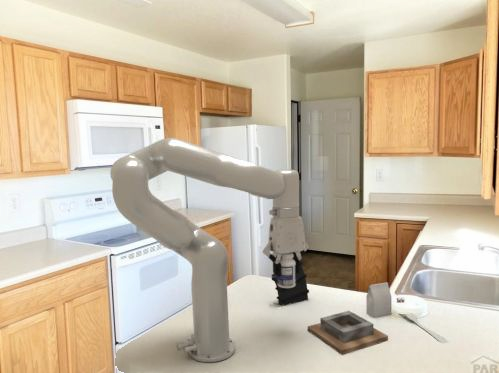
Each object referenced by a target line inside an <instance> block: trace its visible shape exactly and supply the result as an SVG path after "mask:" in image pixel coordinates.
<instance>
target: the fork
mask: <svg viewBox="0 0 499 373" xmlns="http://www.w3.org/2000/svg"><path fill="white" fill-rule="evenodd" d="M409 313H410V314H402V315H403V316H406V317H407V318H408V319H409V320H411V321H413V322H414V323H415V324H416V325H418V327H420V328H422V329H423V330H424V331H425V332H427V333H429V334H430V335H431V336H432V337H434V339H436V340H437V342H439V343H440V344H446V343H449V340H448V339H447V338H445V337H444V336H442V335H440V334H439V333H437V332H435V331H432V330H431V329H430V328H427V327H425V326H424V325H422V324H420V322H419V321H418V317H417V315H415V314H414V313H413V312H409Z"/></svg>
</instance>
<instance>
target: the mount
mask: <svg viewBox="0 0 499 373" xmlns="http://www.w3.org/2000/svg"><path fill="white" fill-rule="evenodd" d="M307 331H308V332H309V333H311V334H312V335H314V336H315V337H317V338H318V339H319V340H321V341H322V342H323V343H325V344H326V345H328V346H329V347H330V348H332V349H334V350H335V351H336V352H337V353H339V354H341V355H342V356H343V355H346V354H349V353H352V352H355V351H358V350H361V349H364V348H367V347H371V346H374V345H376V344H377V345H378V344H379V343H384V342H386V341H388V340H389V336H388V335H387V334H385V333H383V332H382V331H380V330H379V329H376V328H375V327H374V323H372V322H371V321H369V320H367V319H365V318H363V317H361V316H360V315H358V314H356V313H354V312H352V311H350V310H346V311H343V312H339V313H335V314H331V315H328V316H324V317H320V322H318V323H314V324H311V325H308V326H307Z"/></svg>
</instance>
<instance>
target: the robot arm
mask: <svg viewBox="0 0 499 373" xmlns="http://www.w3.org/2000/svg"><path fill="white" fill-rule="evenodd" d="M109 171H110V173H109V174H110V179H111V181H112V185H111V186H112V189H111V190H112V198H113V201H114V204H115V206H116V208H117V210H118V212H119V213H120V215H122V216H123V217H124V219H126V220H127V221H129V222H130V223H131V224H132V225H134V226H135V227H136V228H138V229H140V230H141V231H142V232H143V233H145V234H147V235H148V236H150V237H151V238H152V239H154V240H155V241H157V242H158V244H160V245H161V246H162V247H164V248H165V249H168V250H172V251H173V252H175V253H176V254H177V255H179V256H181V257H182V258H183V259H185V260H186V261H187V262H188V263H190V265H191V269H192V270H191V271H192V272H191V283H190V284H191V285H190V286H191V304H192V306H191V307H192V319H193V320H192V322H193V324H192V325H193V333H192V334H191V335H190V338H188V339H187V340H185V341H179V342H176V349H177V351H182V350H183V351H184V353H189V356H190V357H191V358H192V359H194V360H195V361H199V362H202V363H215V362H220V361H224V360H226V359H228V358H230V357H231V356H233V354H234V353H235V352H236V343H235V341H234V340H233V339H231V337H230V324H229V303H228V297H229V296H228V267H229V254H228V253H229V252H228V250H227V248H226V246H225V244H224V243H223V242H222V241H221V240H220V239H218V238H216V236H214V235H212V234H210V233H208V232H207V231H206V230H204V229H203V228H201V227H200V226H198V225H197V224H195V223H194V222H192V221H191V220H190V219H188V218H187V217H186V216H185V215H184V214H182V213H180V212H179V211H176V210H174V209H172V208H171V207H169V206H168V205H167V204H165V203H164V202H162V200H160V199H159V198H157V196H155V195H154V194H153V193H152V192H151V190H150V188H149V180H152V179H154V178H157V177H159V176H161V175H162V174H164V173H166V172H171V173H174V174H178V175H181V176H184V177H187V178H190V179H194V180H197V181H201V182H203V183H206V184H210V185H212V186H213V185H214V186H217V187H222V188H227V189H232V190H233V189H234V190H238V191H241V192H245V193H248V194H250V195H251V196H254V197H258V198H263V199H267V200H272V209H270V210H269V211H268V214H269V216H272V217H271V218H270V221H269V222H270V223H269V228H268V240H267V241H268V243H267V244H266V245H265V247H264V249H263V250H262V254H263V255H265V256H266V257H267V258H268V259H270V261H271V262H272V272H273V274H274V275H276V276H277V277H281V264H280V263H279V261H280V257H281V254H287V253H293V258H292V259H293V260H295V262H296V274H299V269H300V262H301V260H302V257H303V256H304V255H305V254H306V251H307V250H308V249H309V247H310V246H309V244H308V242H307V241H306V235H305V227H304V225H305V224H304V222H303V217H302V216H301V215H300V175H299V172H298V170H296V169H278V170H277V169H276V170H273V169H269V168H266V167H263V166H261V165H257V164H254V163H251V162H248V161H245V160H241V159H238V158H236V157H233V156H230V155H227V154H224V153H221V152H219V151H215V150H212V149H210V148H207V147H205V146H201V145H198V144H195V143H191V142H189V141H185V140H183V139H181V138H180V139H179V138H176V137H167V138H162V139H159V140H157V141H155V142H153V143H151V144H149V145H147V146H145V147H143V148H140V149H138V150H136V151H134V152H130V153H128V154H126V155H124V156H122V157H120V158H118V159H117V160H115V161H114V163H113V164H112V165H111V167H110V170H109ZM271 252H272V253H271Z"/></svg>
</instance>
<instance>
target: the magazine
mask: <svg viewBox="0 0 499 373" xmlns="http://www.w3.org/2000/svg"><path fill="white" fill-rule="evenodd" d="M302 265H303V263H302V262H301V261H300V269H299V274H296V285H295V287H292V288H282V287H279V286H278V283H277V276H276V275H274V273H273V274H271V275H270V276H271V281H273V282H274V283H275V290H276V291H277V296H276V300H277V301H278V304H279V305H281V306H286V305H290V304H294V303H298V302H299V303H300V302H303V301H306V300H308V297H309V295H308V294H310V289H308V283H307V279H306V278H307V277H308V276H307V274H306V273H305V272H304V269H303V266H302Z"/></svg>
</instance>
